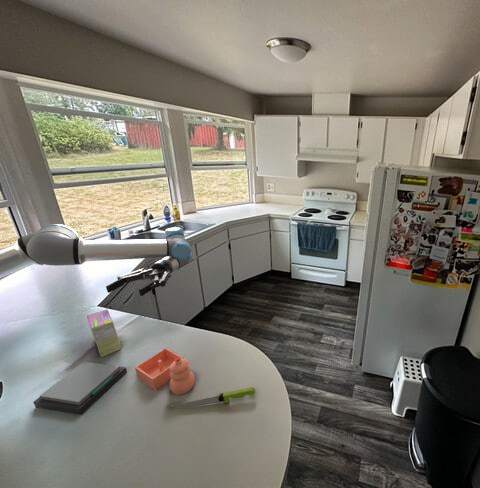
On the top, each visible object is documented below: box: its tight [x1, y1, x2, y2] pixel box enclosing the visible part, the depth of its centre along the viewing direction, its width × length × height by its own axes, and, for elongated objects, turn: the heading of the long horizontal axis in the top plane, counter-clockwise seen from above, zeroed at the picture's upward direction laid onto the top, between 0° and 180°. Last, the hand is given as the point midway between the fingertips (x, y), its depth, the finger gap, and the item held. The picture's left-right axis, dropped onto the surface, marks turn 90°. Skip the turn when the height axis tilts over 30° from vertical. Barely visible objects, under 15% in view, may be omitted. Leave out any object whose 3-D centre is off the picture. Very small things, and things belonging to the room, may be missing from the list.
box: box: [86, 308, 122, 358], centre depth 87 cm, size 10×6×12 cm, turn 47°
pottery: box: [134, 347, 196, 396], centre depth 76 cm, size 18×10×10 cm, turn 63°
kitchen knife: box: [170, 386, 256, 409], centre depth 70 cm, size 22×1×3 cm, turn 101°
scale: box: [33, 361, 128, 416], centre depth 73 cm, size 14×14×3 cm
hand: (123, 291), depth 93 cm, fingers open, 13 cm apart
